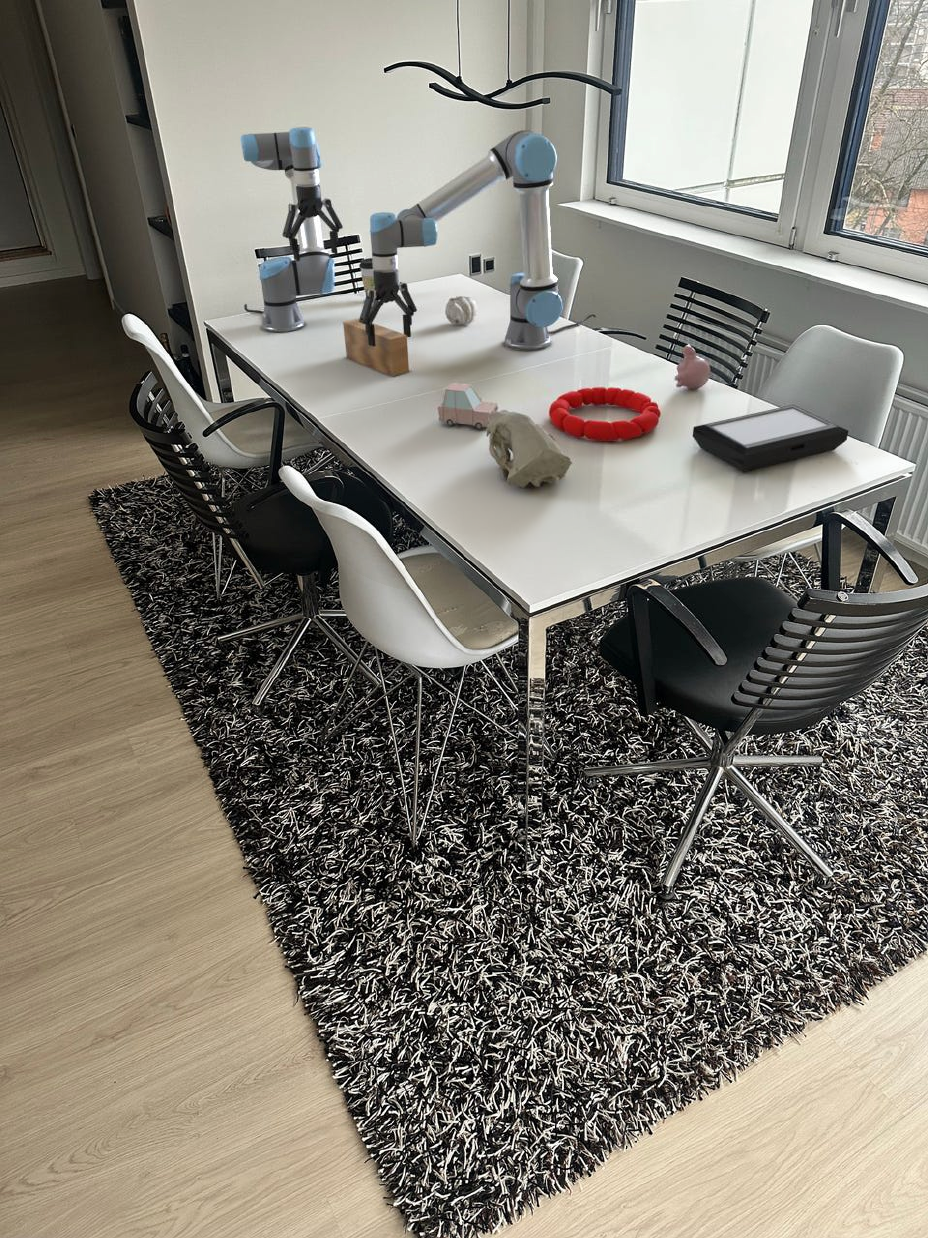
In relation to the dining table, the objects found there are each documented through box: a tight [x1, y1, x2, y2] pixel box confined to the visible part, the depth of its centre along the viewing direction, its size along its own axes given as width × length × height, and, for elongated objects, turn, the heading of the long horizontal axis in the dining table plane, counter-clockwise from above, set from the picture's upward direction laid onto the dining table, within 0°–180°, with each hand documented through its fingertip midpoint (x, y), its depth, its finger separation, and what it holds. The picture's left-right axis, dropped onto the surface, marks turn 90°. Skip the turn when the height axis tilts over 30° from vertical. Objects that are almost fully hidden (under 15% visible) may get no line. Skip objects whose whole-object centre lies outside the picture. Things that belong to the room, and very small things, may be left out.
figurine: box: [674, 344, 711, 390], centre depth 259 cm, size 9×11×12 cm
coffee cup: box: [358, 257, 380, 303], centre depth 348 cm, size 10×10×15 cm
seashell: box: [444, 295, 478, 326], centre depth 319 cm, size 10×15×10 cm
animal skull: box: [485, 409, 573, 489], centre depth 216 cm, size 17×25×20 cm
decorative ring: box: [548, 386, 661, 442], centre depth 242 cm, size 7×30×30 cm
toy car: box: [437, 382, 499, 431], centre depth 243 cm, size 9×15×10 cm, turn 70°
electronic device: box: [692, 404, 850, 473], centre depth 224 cm, size 32×6×20 cm
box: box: [342, 317, 410, 377], centre depth 286 cm, size 26×6×12 cm, turn 40°
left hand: (316, 256), depth 288 cm, fingers open, 13 cm apart
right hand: (390, 340), depth 278 cm, fingers open, 13 cm apart
